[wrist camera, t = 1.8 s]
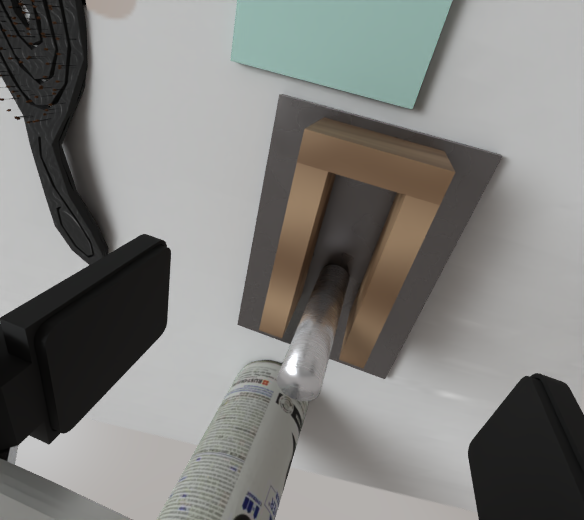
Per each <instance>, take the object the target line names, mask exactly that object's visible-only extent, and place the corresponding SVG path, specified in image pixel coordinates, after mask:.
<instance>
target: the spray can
mask: <svg viewBox="0 0 584 520" xmlns="http://www.w3.org/2000/svg"><path fill="white" fill-rule="evenodd" d="M281 366H282V364H281V363H278V362H275V361H271V360H262V361H255V362H251V363H249V364H248V365H246V366H245V367H244V368H243V369H242V370H241V371H240V372H239V373H238V375H237V377H236V378H235V380H234V382H233V384H232V386H231V387H230V389H229V391H228V393H227V395H226V396H225V398H224V400H223V402H222V404H221V405H220V407H219V409H218V411H217V412H216V414H215V416H214V418H213V420H212V421H211V423H210V425H209V427H208V429H207V430H206V432H205V434H204V436H203V437H202V439H201V441H200V443H199V445H198V446H197V448H196V450H195V452H194V454H193V456H192V457H191V459H190V461H189V463H188V465H187V466H186V468H185V470H184V472H183V473H182V475H181V477H180V479H179V481H178V483H177V484H176V486H175V488H174V490H173V491H172V493H171V495H170V497H169V498H168V500H167V502H166V504H165V506H164V508H163V509H162V511H161V513H160V514H159V517H158V518H157V520H275V517H276V513H277V510H278V507H279V502H280V499H281V496H282V493H283V490H284V486H285V482H286V479H287V476H288V473H289V469H290V466H291V462H292V459H293V456H294V452H295V449H296V445H297V442H298V438H299V434H300V431H301V428H302V425H303V422H304V418H305V414H306V411H307V407H308V401H299V400H295V399H292V398H290V397H289V396H287V395H286V394H284V393H283V392H282V391H281V389H280V388H279V386H278V384H277V376H278V373H279V371H280V369H281Z"/></svg>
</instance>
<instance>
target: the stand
mask: <svg viewBox="0 0 584 520" xmlns="http://www.w3.org/2000/svg"><path fill="white" fill-rule="evenodd" d="M324 117H325V118H328V119H332V120H335V121H339V122H342V123H346V124H349V125H353V126H357V127H360V128H364V129H367V130H371V131H374V132H378V133H381V134H385V135H389V136H392V137H396V138H399V139H403V140H406V141H410V142H414V143H417V144H421V145H424V146H428V147H431V148H435V149H438V150H442V151H445V153H446V155H447V157H448V159H449V161H450V163H451V165H452V167H453V168H454V170H455V174H454V176H453V178H452V181H451V183H450V185H449V187H448V189H447V191H446V193H445V196H444V198H443V200H442V202H441V204H440V206H439V208H438V210H437V213H436V215H435V217H434V219H433V221H432V223H431V225H430V228H429V230H428V232H427V234H426V236H425V238H424V240H423V243H422V245H421V247H420V249H419V251H418V253H417V255H416V257H415V260H414V262H413V264H412V266H411V268H410V270H409V272H408V275H407V277H406V279H405V281H404V283H403V285H402V287H401V289H400V292H399V294H398V296H397V298H396V300H395V302H394V304H393V307H392V309H391V311H390V313H389V315H388V317H387V319H386V322H385V324H384V326H383V328H382V330H381V332H380V334H379V336H378V339H377V341H376V343H375V345H374V347H373V349H372V351H371V354H370V356H369V358H368V360H367V362H366V364H365V366H364V369H363V368H360V367H358V366H355V365H352V364H350V363H347V362H344V361H341V360H339V357H340V353H341V348H342V344H343V339H344V335H345V330H346V326H347V321H348V317H349V313H350V311H351V308H352V306H353V303H354V301H355V298H356V296H357V293H358V291H359V288H360V285H361V283H362V280H363V278H364V275H365V273H366V270H367V268H368V265H369V262H370V260H371V257H372V255H373V252H374V250H375V247H376V245H377V242H378V240H379V237H380V234H381V232H382V229H383V227H384V224H385V222H386V219H387V217H388V214H389V211H390V209H391V206H392V204H393V201H394V199H395V196H396V194H397V192H394V191H391V190H387V189H384V188H381V187H377V186H374V185H371V184H367V183H364V182H361V181H357V180H354V179H351V178H347V177H344V176H341V175H337V174H336V177H335V180H334V184H333V187H332V191H331V194H330V197H329V201H328V204H327V208H326V211H325V215H324V218H323V222H322V225H321V228H320V232H319V235H318V239H317V242H316V246H315V249H314V253H313V256H312V260H311V263H310V266H309V270H308V273H307V277H306V280H305V284H304V287H303V291H302V294H301V298H300V300H299V302H298V304H297V307H296V309H295V311H294V313H293V315H292V318H291V320H290V322H289V324H288V326H287V329H286V331H285V333H284V335H283V337H282V338H279V337H276V336H274V335H271V334H268V333H266V332H263V331H260V330H259V328H260V323H261V319H262V314H263V310H264V305H265V301H266V297H267V292H268V288H269V283H270V279H271V274H272V270H273V266H274V261H275V257H276V252H277V248H278V244H279V239H280V235H281V230H282V226H283V221H284V217H285V213H286V208H287V204H288V199H289V195H290V190H291V186H292V182H293V177H294V173H295V168H296V164H297V160H298V155H299V151H300V146H301V142H302V137H303V133H304V129H305V128H307V127H308V126H310V125H312V124H314V123H315V122H317V121H319V120H320V119H322V118H324ZM501 158H502V156H501V155H500V154H497V153H493V152H489V151H486V150H482V149H479V148H475V147H471V146H468V145H464V144H460V143H457V142H453V141H450V140H446V139H442V138H439V137H435V136H432V135H428V134H424V133H421V132H417V131H413V130H410V129H406V128H403V127H399V126H395V125H392V124H388V123H385V122H381V121H377V120H374V119H370V118H366V117H363V116H359V115H356V114H352V113H348V112H345V111H341V110H338V109H334V108H330V107H327V106H323V105H319V104H316V103H312V102H309V101H305V100H301V99H298V98H294V97H291V96H287V95H283V94H280V95H279V100H278V105H277V111H276V116H275V122H274V127H273V133H272V138H271V144H270V149H269V155H268V160H267V166H266V171H265V177H264V182H263V188H262V193H261V199H260V204H259V210H258V215H257V221H256V226H255V232H254V237H253V243H252V248H251V254H250V259H249V265H248V270H247V276H246V281H245V287H244V292H243V298H242V303H241V309H240V314H239V320H238V325H240V326H243V327H245V328H248V329H251V330H254V331H256V332H259V333H262V334H264V335H267V336H270V337H272V338H275V339H278V340H281V341H283V342H286V343H289V344H290V347H289V349H288V352H287V354H286V356H285V359H284V361H283V364H282V366H281V369H280V371H279V373H278V376H277V384H278V386H279V388H280V389H281V391H282V392H283V393H284V394H286V395H287V396H289V397H290V398H292V399H295V400H299V401H310V400H313V399H315V398H316V397H318V395H319V394H320V391H321V387H322V383H323V379H324V375H325V372H326V368H327V364H328V360H329V359H332V360H335V361H337V362H340V363H343V364H345V365H348V366H351V367H353V368H356V369H359V370H362V371H364V372H367V373H370V374H372V375H375V376H378V377H380V378H383V379H385V378H386V376H387V374H388V372H389V370H390V369H391V367H392V365H393V363H394V361H395V359H396V357H397V355H398V353H399V351H400V350H401V348H402V346H403V344H404V342H405V340H406V338H407V336H408V334H409V332H410V331H411V329H412V327H413V325H414V323H415V321H416V319H417V317H418V315H419V313H420V312H421V310H422V308H423V306H424V304H425V302H426V300H427V298H428V296H429V294H430V293H431V291H432V289H433V287H434V285H435V283H436V281H437V279H438V277H439V275H440V274H441V272H442V270H443V268H444V266H445V264H446V262H447V260H448V258H449V256H450V255H451V253H452V251H453V249H454V247H455V245H456V243H457V241H458V239H459V237H460V236H461V234H462V232H463V230H464V228H465V226H466V224H467V222H468V220H469V218H470V216H471V215H472V213H473V211H474V209H475V207H476V205H477V203H478V201H479V199H480V197H481V196H482V194H483V192H484V190H485V188H486V186H487V184H488V182H489V180H490V178H491V177H492V175H493V173H494V171H495V169H496V167H497V165H498V163H499V161H500V159H501Z"/></svg>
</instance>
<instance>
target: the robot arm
mask: <svg viewBox="0 0 584 520" xmlns="http://www.w3.org/2000/svg"><path fill="white" fill-rule="evenodd" d="M170 261H171V250H170V249H169V248H167V245H166V242H165V241H164V240H161V239H158V238H155V237H152V236H149V235H147V234H143V235H140V236H138V237H137V238H135V239H133V240H132V241H130V242H128V243H127V244H125V245H123V246H121V247H120V248H118V249H116V250H115V251H113V252H111V253H110V254H108V255H106V256H104V257H103V258H101V259H99V260H98V261H96V262H94V263H93V264H91V265H89V266H87V267H86V268H84V269H82V270H81V271H79V272H77V273H76V274H74V275H72V276H70V277H69V278H67V279H65V280H64V281H62V282H60V283H59V284H57V285H55V286H53V287H52V288H50V289H48V290H47V291H45V292H43V293H42V294H40V295H38V296H36V297H35V298H33V299H31V300H30V301H28V302H26V303H24V304H23V305H21V306H19V307H18V308H16V309H14V310H13V311H11V312H9V313H7V314H6V315H4V316H2V317H1V318H0V323H1V324H0V520H132V519H130V518H128V517H126V516H124V515H122V514H120V513H118V512H115V511H113V510H111V509H109V508H107V507H105V506H103V505H100V504H98V503H96V502H94V501H92V500H90V499H88V498H86V497H84V496H81V495H79V494H77V493H75V492H73V491H71V490H69V489H67V488H64V487H62V486H60V485H58V484H56V483H54V482H52V481H50V480H47V479H45V478H43V477H41V476H39V475H36V474H34V473H32V472H30V471H27V470H25V469H23V468H21V467H18V466H16V465H15V460H16V455H17V449H18V445H19V444H20V443H21V442H22V441H23V440H24V439H25V438H26V437H27V436H29V435H30V436H32V437H34V438H37V439H39V440H41V441H43V442H45V443H47V444H50V443H51V442H52V441H53V440H54V439H55V438H56V437H57V436H58V435H59V434H60V433H67V432H68V431H70V430H71V429H72V428H73V427H74V426H75V425H76V424H77V423H78V422H79V421H80V420H81V419H82V418H83V417H84V416H85V415H86V414H87V413H88V412H89V411H90V410H91V408H92V407H93V406H94V405H95V404H96V403H97V402H98V401H99V400H100V399H101V398H102V397H103V396H104V395H105V394H106V393H107V392H108V391H109V390H110V389H111V387H112V386H113V385H114V384H115V383H116V382H117V381H118V380H119V379H120V378H121V377H122V376H123V375H124V374H125V373H126V372H127V371H128V370H129V369H130V368H131V366H132V365H133V364H134V363H135V362H136V361H137V360H138V359H139V358H140V357H141V356H142V355H143V354H144V353H145V352H146V351H147V350H148V349H149V348H150V347H151V345H152V344H153V343H154V342H155V341H156V340H157V339H158V338H159V337H160V336H161V335H162V334H163V332H164V330H165V328H166V325H167V314H168V296H169V279H170ZM468 458H469V464H470V470H471V476H472V482H473V488H474V493H475V499H476V505H477V511H478V517H479V520H584V415H583V412H582V411H581V409H580V407H579V405H578V403H577V401H576V399H575V397H574V396H573V394H572V392H571V390H570V388H569V387H568V385H567V384H566V383H564V382H562V381H559V380H556V379H553V378H550V377H548V376H545V375H542V374H538V373H535V374H533V375H532V376H530V377H529V376H525V377H523V378H522V379H521V380H520V381H519V382H518V384H517V385H516V386H515V387H514V389H513V390H512V391H511V392H510V394H509V395H508V396H507V397H506V399H505V400H504V401H503V402H502V404H501V405H500V406H499V407H498V409H497V410H496V411H495V412H494V414H493V415H492V416H491V417H490V419H489V420H488V421H487V422H486V424H485V425H484V426H483V427H482V429H481V430H480V431H479V432H478V434H477V435H476V436H475V437H474V439H473V440H472V441H471V443H470V445H469V450H468Z"/></svg>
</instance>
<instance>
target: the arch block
mask: <svg viewBox="0 0 584 520" xmlns="http://www.w3.org/2000/svg"><path fill="white" fill-rule="evenodd" d="M336 174H337V175H341V176H344V177H347V178H351V179H354V180H357V181H361V182H364V183H367V184H371V185H374V186H377V187H381V188H384V189H387V190H391V191H394V192H397V194H396V196H395V199H394V201H393V204H392V206H391V209H390V211H389V214H388V217H387V219H386V222H385V224H384V227H383V229H382V232H381V234H380V237H379V240H378V242H377V245H376V247H375V250H374V252H373V255H372V257H371V260H370V262H369V265H368V268H367V270H366V273H365V275H364V278H363V280H362V283H361V285H360V288H359V291H358V293H357V296H356V298H355V301H354V303H353V306H352V308H351V311H350V313H349V317H348V321H347V326H346V330H345V335H344V339H343V344H342V348H341V353H340V357H339V360H341V361H344V362H347V363H350V364H352V365H355V366H358V367H360V368H363V369H364V366H365V364H366V362H367V360H368V358H369V356H370V354H371V351H372V349H373V347H374V345H375V343H376V341H377V339H378V336H379V334H380V332H381V330H382V328H383V326H384V324H385V322H386V319H387V317H388V315H389V313H390V311H391V309H392V307H393V304H394V302H395V300H396V298H397V296H398V294H399V292H400V289H401V287H402V285H403V283H404V281H405V279H406V277H407V275H408V272H409V270H410V268H411V266H412V264H413V262H414V260H415V257H416V255H417V253H418V251H419V249H420V247H421V245H422V243H423V240H424V238H425V236H426V234H427V232H428V230H429V228H430V225H431V223H432V221H433V219H434V217H435V215H436V213H437V210H438V208H439V206H440V204H441V202H442V200H443V198H444V196H445V193H446V191H447V189H448V187H449V185H450V183H451V181H452V178H453V176H454V174H455V170H454V168H453V167H452V165H451V163H450V161H449V159H448V157H447V155H446V153H445V151H442V150H438V149H435V148H431V147H428V146H424V145H421V144H417V143H414V142H410V141H406V140H403V139H399V138H396V137H392V136H389V135H385V134H381V133H378V132H374V131H371V130H367V129H364V128H360V127H357V126H353V125H349V124H346V123H342V122H339V121H335V120H332V119H328V118H325V117H324V118H322V119H320V120H319V121H317V122H315V123H314V124H312V125H310V126H308V127H307V128H305V129H304V133H303V137H302V142H301V146H300V151H299V155H298V160H297V164H296V168H295V173H294V177H293V182H292V186H291V190H290V195H289V199H288V204H287V208H286V213H285V217H284V221H283V226H282V230H281V235H280V239H279V244H278V248H277V252H276V257H275V261H274V266H273V270H272V274H271V279H270V283H269V288H268V292H267V297H266V301H265V305H264V310H263V314H262V319H261V323H260V328H259V330H260V331H263V332H266V333H268V334H271V335H274V336H276V337H279V338H282V337H283V335H284V333H285V331H286V329H287V326H288V324H289V322H290V320H291V318H292V315H293V313H294V311H295V309H296V307H297V304H298V302H299V300H300V298H301V294H302V291H303V287H304V284H305V280H306V277H307V273H308V270H309V266H310V263H311V260H312V256H313V253H314V249H315V246H316V242H317V239H318V235H319V232H320V228H321V225H322V222H323V218H324V215H325V211H326V208H327V204H328V201H329V197H330V194H331V191H332V187H333V184H334V180H335V177H336Z"/></svg>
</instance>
